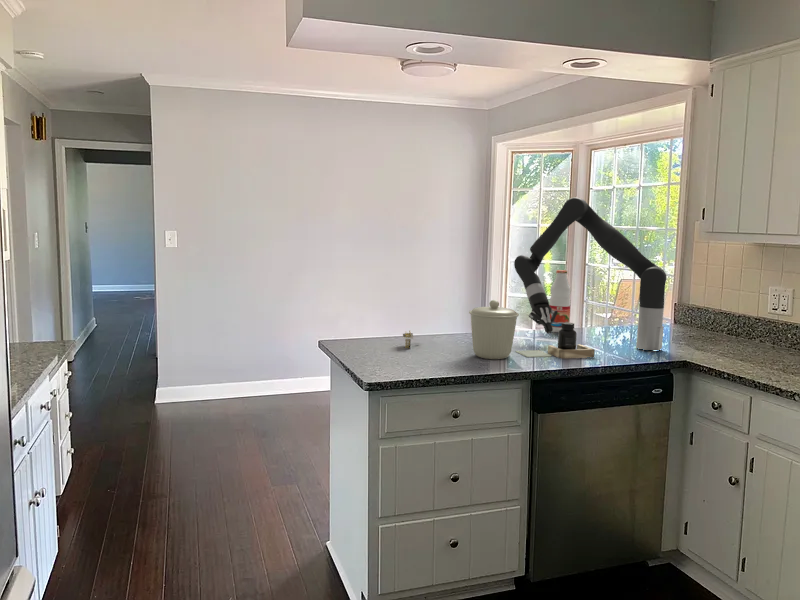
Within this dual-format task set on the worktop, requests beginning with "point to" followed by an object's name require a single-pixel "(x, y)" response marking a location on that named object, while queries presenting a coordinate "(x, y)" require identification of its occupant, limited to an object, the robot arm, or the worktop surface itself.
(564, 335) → the supplement bottle
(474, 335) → the canister
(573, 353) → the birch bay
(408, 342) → the yellow figurine
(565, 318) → the fruit juice
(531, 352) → the sage tile
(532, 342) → the worktop surface
